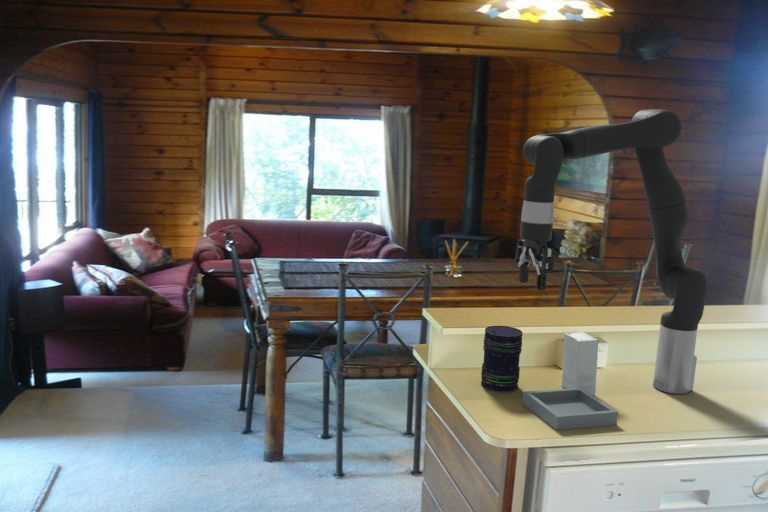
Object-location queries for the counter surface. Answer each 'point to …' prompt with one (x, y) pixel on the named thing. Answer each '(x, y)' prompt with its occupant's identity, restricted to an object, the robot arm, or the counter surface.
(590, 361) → the skincare box
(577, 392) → the tray
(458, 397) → the counter surface
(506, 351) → the dark blue barrel
